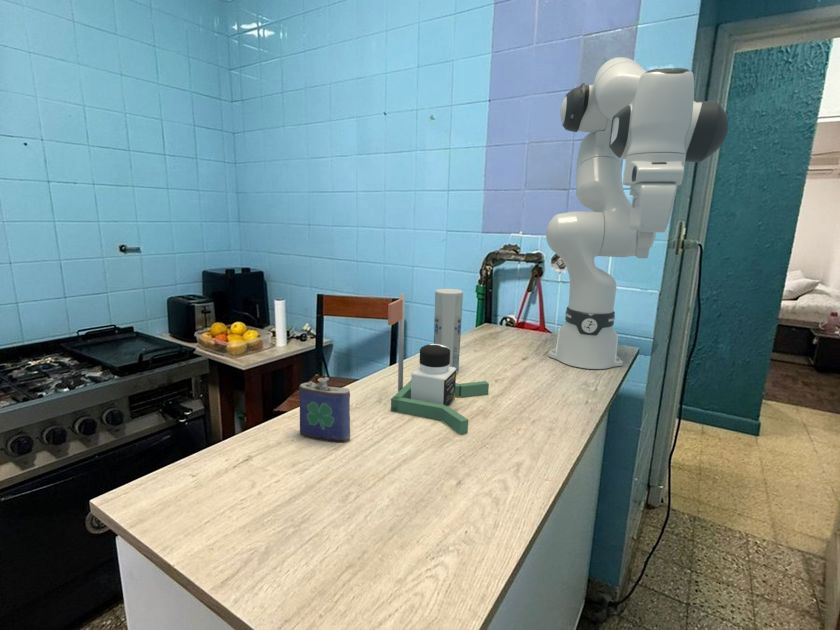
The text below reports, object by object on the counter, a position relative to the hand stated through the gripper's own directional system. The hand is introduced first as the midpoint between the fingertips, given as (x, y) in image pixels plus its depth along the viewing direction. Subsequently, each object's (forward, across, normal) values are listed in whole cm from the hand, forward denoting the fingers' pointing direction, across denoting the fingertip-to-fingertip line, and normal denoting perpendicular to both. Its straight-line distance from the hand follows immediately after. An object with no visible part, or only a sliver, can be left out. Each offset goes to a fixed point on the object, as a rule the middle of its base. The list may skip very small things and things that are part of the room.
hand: (641, 257), depth 77 cm
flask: (+31, +26, -48) cm, 63 cm away
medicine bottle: (+31, +6, -35) cm, 47 cm away
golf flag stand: (+31, +6, -34) cm, 46 cm away
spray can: (+31, -13, -38) cm, 51 cm away
